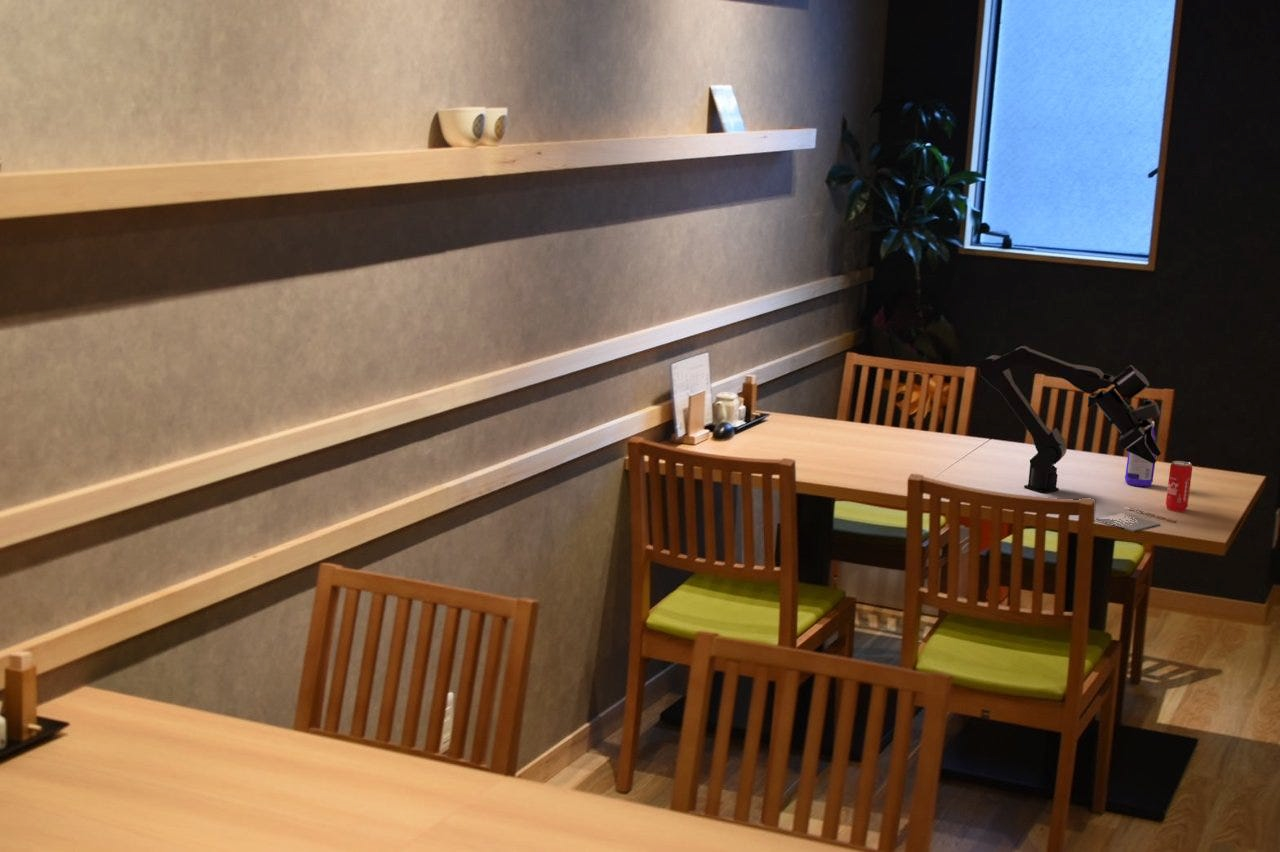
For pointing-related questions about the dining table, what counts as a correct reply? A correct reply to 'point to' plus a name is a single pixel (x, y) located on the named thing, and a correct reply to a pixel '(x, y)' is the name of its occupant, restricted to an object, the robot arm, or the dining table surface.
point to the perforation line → (1158, 516)
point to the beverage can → (1178, 486)
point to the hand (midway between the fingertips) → (1157, 458)
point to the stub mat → (1135, 526)
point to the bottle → (1140, 468)
